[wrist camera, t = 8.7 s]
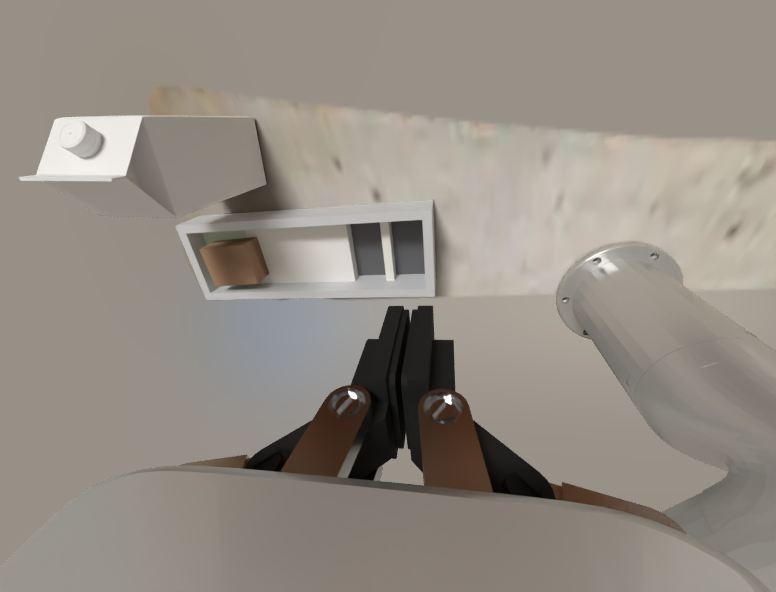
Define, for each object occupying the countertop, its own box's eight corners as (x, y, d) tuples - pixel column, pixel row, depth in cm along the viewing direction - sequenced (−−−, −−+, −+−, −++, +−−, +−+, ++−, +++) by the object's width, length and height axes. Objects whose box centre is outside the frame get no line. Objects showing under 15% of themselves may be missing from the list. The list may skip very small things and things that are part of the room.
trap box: (433, 199, 36) (431, 209, 32) (436, 279, 41) (435, 296, 37) (200, 215, 42) (175, 225, 38) (226, 284, 46) (206, 299, 42)
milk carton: (268, 184, 38) (134, 234, 22) (214, 184, 39) (47, 231, 23) (255, 116, 35) (84, 114, 18) (196, 117, 36) (-15, 117, 19)
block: (256, 236, 40) (243, 245, 37) (269, 273, 42) (257, 283, 39) (214, 241, 41) (199, 249, 38) (229, 276, 43) (215, 286, 40)
